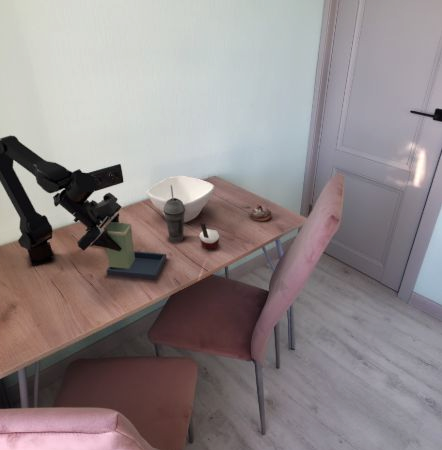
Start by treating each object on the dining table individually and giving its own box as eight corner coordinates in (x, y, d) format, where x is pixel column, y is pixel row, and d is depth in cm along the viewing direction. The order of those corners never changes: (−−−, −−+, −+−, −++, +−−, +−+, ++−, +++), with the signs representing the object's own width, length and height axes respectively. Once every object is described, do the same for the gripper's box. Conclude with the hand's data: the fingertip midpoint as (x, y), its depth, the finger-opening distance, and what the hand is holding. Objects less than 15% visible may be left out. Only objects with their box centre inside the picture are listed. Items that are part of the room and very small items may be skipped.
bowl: (222, 211, 159) (221, 184, 152) (188, 236, 143) (187, 207, 137) (177, 198, 169) (175, 172, 163) (141, 220, 153) (138, 192, 147)
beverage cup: (170, 246, 137) (166, 193, 127) (163, 236, 143) (158, 185, 132) (190, 241, 140) (187, 188, 129) (182, 231, 146) (178, 180, 135)
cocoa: (212, 238, 141) (212, 208, 135) (225, 245, 138) (225, 214, 131) (192, 249, 136) (190, 218, 129) (204, 256, 132) (204, 225, 126)
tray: (156, 281, 121) (155, 275, 120) (107, 276, 123) (106, 270, 122) (166, 260, 130) (165, 253, 129) (121, 255, 133) (120, 249, 131)
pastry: (246, 216, 155) (247, 204, 153) (260, 210, 160) (260, 198, 157) (262, 223, 150) (262, 212, 148) (275, 217, 155) (276, 205, 152)
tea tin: (129, 269, 114) (124, 233, 108) (108, 267, 115) (102, 231, 108) (135, 258, 119) (131, 223, 112) (115, 256, 119) (109, 221, 113)
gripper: (80, 205, 97) (129, 247, 102) (110, 175, 113) (151, 213, 117) (57, 231, 102) (104, 270, 107) (88, 199, 118) (129, 234, 122)
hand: (124, 245), depth 113 cm, fingers closed on tea tin, 5 cm apart
